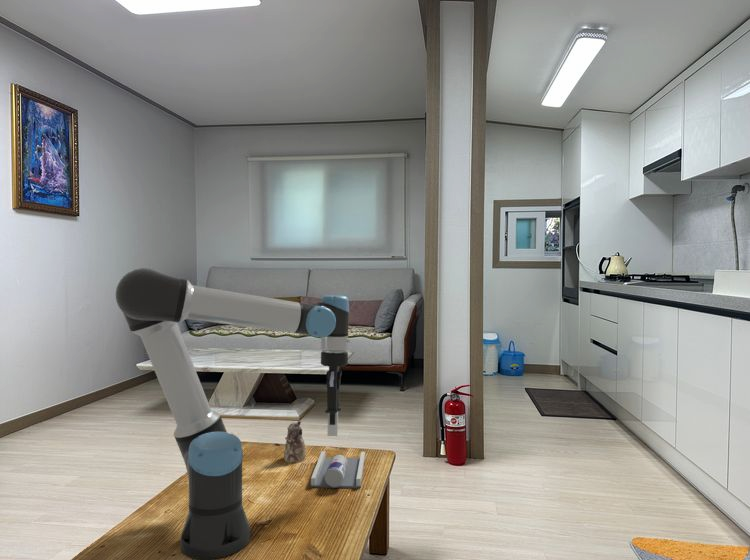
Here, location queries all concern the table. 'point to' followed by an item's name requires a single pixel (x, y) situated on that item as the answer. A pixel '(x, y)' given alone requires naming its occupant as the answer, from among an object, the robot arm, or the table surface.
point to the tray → (351, 476)
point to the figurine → (294, 444)
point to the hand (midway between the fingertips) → (332, 435)
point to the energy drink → (336, 471)
